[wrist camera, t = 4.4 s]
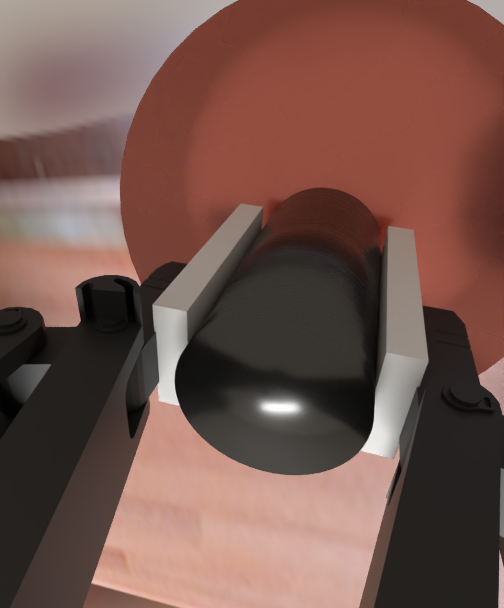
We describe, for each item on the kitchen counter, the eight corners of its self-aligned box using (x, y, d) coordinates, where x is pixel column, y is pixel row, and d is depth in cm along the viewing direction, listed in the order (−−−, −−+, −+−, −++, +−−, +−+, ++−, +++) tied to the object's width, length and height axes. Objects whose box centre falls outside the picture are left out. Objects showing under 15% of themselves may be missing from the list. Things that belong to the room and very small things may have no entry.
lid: (163, 331, 23) (18, 521, 14) (143, -30, 15) (-223, -124, 6) (469, 397, 20) (532, 687, 11) (646, -3, 12) (1348, -96, 3)
